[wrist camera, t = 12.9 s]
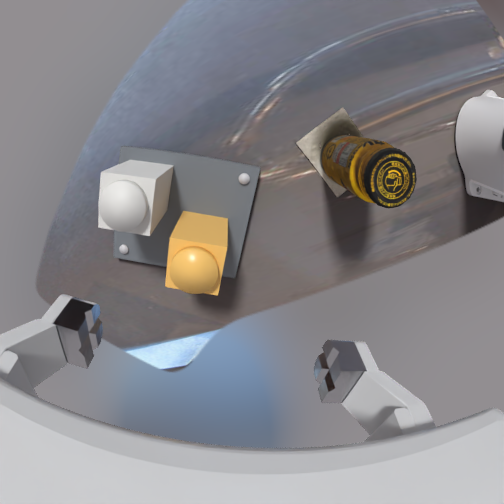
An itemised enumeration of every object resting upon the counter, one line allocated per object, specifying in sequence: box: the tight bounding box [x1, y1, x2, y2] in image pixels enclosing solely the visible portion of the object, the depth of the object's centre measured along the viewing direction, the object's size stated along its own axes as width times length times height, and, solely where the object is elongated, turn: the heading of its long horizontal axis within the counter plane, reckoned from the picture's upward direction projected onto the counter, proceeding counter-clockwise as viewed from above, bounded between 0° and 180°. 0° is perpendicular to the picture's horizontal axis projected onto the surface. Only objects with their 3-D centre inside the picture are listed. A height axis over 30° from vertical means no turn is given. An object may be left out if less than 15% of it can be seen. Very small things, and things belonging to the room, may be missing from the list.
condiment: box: [296, 108, 416, 208], centre depth 26 cm, size 7×8×12 cm
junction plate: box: [98, 146, 260, 278], centre depth 28 cm, size 16×14×10 cm
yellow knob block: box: [165, 211, 228, 295], centre depth 29 cm, size 5×5×9 cm
